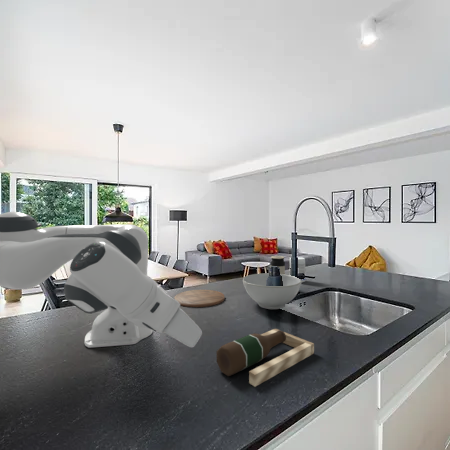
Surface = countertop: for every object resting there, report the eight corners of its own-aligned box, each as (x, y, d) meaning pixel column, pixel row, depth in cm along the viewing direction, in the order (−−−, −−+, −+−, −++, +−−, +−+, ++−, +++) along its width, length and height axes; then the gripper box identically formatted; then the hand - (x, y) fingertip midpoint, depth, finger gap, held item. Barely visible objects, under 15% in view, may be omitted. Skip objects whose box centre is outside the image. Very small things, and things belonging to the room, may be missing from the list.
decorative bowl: (257, 294, 150) (257, 271, 150) (308, 301, 136) (308, 276, 136) (232, 308, 127) (232, 281, 127) (290, 319, 113) (290, 289, 113)
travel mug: (286, 290, 157) (286, 257, 156) (271, 290, 157) (271, 257, 157) (283, 286, 165) (283, 255, 164) (269, 286, 165) (269, 255, 165)
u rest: (255, 386, 69) (254, 374, 69) (217, 362, 81) (216, 352, 80) (313, 353, 85) (313, 343, 85) (275, 337, 97) (275, 328, 97)
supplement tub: (308, 281, 177) (308, 257, 177) (300, 283, 171) (300, 259, 170) (294, 278, 184) (294, 256, 184) (286, 281, 178) (286, 258, 177)
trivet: (233, 303, 136) (233, 299, 136) (183, 311, 125) (183, 307, 125) (212, 290, 158) (212, 287, 158) (168, 297, 147) (168, 293, 147)
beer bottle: (237, 361, 70) (295, 334, 86) (219, 339, 76) (277, 318, 91) (229, 383, 73) (287, 353, 88) (212, 361, 78) (270, 337, 94)
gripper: (117, 304, 65) (157, 334, 71) (158, 332, 49) (205, 367, 56) (136, 281, 67) (172, 313, 74) (180, 301, 52) (222, 339, 58)
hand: (187, 336), depth 65 cm, fingers closed
